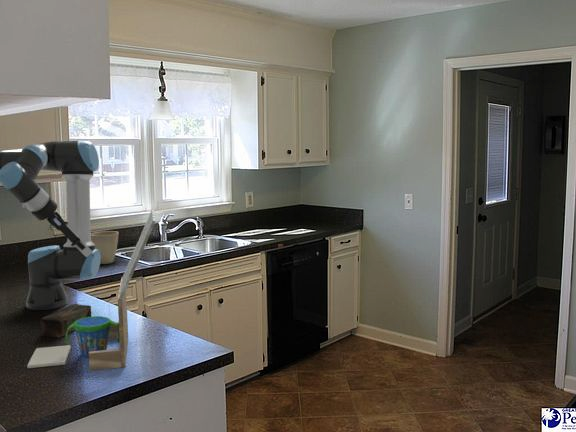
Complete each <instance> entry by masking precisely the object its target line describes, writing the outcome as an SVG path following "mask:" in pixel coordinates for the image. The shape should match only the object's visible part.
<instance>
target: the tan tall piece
mask: <svg viewBox="0 0 576 432" xmlns="http://www.w3.org/2000/svg"><path fill="white" fill-rule="evenodd" d="M155 213H156V212H155V210H154V209H151V210H150V213H149V215H148V218H147V220H146V222H145V223H144V227H143V229H142V231H141V232H140V233H141V234H140V235H139V239H138V240H137V242H136V245H135V248H134V249H133V252H132V254H131V257H130V259H129V261H128V264H127V265H126V268H125V270H124V273H123V275H122V276H121V279H120V284H119V290H118V295H117V309H118V310H117V312H118V321H114V322H115V323H116V324H117V325H118V327H119V335H120V336H119V348H115V349H114V348H113V349H107V350H102V351H91V352H89V357H88V362H89V363H88V364H89V371H97V370H98V371H99V370H100V371H101V370H108V369H117V368H125V367H127V366H126V364H127V354H128V343H129V322H128V306H127V305H128V301H127V299H128V298H127V288H128V286H129V284H130V281H131V279H132V277H133V275H134V272H135V270H136V268H137V265H138V263H139V261H140V258H141V256H142V254H143V251H144V249H145V247H146V244H147V243H148V240H149V238H150V235H151V234H152V232H153V231H152V230H153V229H154V227H155V224H156V215H155ZM109 338H113V339H118V330H117V329H116V327H115V326H114V325H110V329H109V334H108V340H110V339H109Z"/></svg>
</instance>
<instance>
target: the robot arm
mask: <svg viewBox="0 0 576 432" xmlns="http://www.w3.org/2000/svg"><path fill="white" fill-rule="evenodd" d="M99 163H100V160H99V154H98V151H97V148H96V146H95V145H94V143H92V142H91V141H88V140H87V141H86V140H62V141H60V140H58V141H57V140H52V141H46V142H40V143H37V144H31V145H30V144H29V145H26V146H25V147H24V148H15V149H6V150H0V184H1V185H2V187H4V188H5V189H6V190H7V191H8V192H9V193H10V194H12V196H13V197H15V198H16V199H17V200H18V201H19V202H20V203H21V204H22V205H21V207H22V208H24V209H25V208H26V209H27V210H28V211H29V212H30V213H31V214H32V215H33V216H34V217H35V218H36V219H37V221H45V220H46V221H48V222H49V224H50V225H52V226H53V227H54V228H55V229H56V230H57V231H60V233H62V234H63V236H65V238H66V239H67V240H66V243H64V244H63V249H61V247H60V245H56V244H55V245H48V246H47V245H46V246H43V247H38V248H35V249H32V250H30V251H29V252H28V255H27V264H28V265H27V266H28V278H29V290H28V294H27V298H26V301H25V303H26V305H25V306H26V307H25V308H26V309H27V310H31V311H48V310H54V309H58V308H62V307H65V306H66V305H67V304H69V303H68V302H69V301H68V296H67V293H66V290H65V288H64V286H63V281H62V280H92V279H93V278H95V277H96V275H97V274H98V271H99V269H100V266H101V264H100V260H101V255H100V251H99V250H97V249H95V244H94V243H93V242H92V241H91V233H92V231H91V196H90V195H91V191H90V190H91V188H90V187H91V186H90V180H91V179H92V178H93V177H94V172H96V171H98V169H99V165H100V164H99ZM41 171H50V172H51V171H52V172H61V176H62V177H63V178H64V179H65V185H66V186H65V187H66V221H65V220H64V219H63V218H62V216H61V215H60V214H59V213H58V212H57V210H58V203H57V202H56V201H55V200H54V199H53V198H52V197H50V195H49V194H48V192H47V191H45V190H44V189H43V187H42V186H40V185H39V184H38V183H37V181H35V180H36V178H37V176H38V175H39V173H40V172H41Z"/></svg>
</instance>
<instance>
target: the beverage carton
mask: <svg viewBox="0 0 576 432" xmlns="http://www.w3.org/2000/svg"><path fill="white" fill-rule="evenodd" d="M86 317H92V306H91V305H86V304H79V303H73V304H70V305H69V306H66V307H64V308H62V309H60V310H57V311H55V312H53V313H51V314H47V315H46V316H44V317H42V318H40V323H39V324H40V336H41V337H48V338H56V337H58V338H57V339H59V338H60V337H61V338H62V336H63V337H64V336H66V331H67V329H68V328H69V326H70V325H72V324H73V323H74V322H75V321H77V320H79V319H82V318H86ZM71 331H72V332H73V331H76V330H75V329H74V328H70V329H69V330H68V334H69V333H71Z"/></svg>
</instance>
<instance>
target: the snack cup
mask: <svg viewBox="0 0 576 432" xmlns="http://www.w3.org/2000/svg"><path fill="white" fill-rule="evenodd" d="M115 322H116V321H113V320H111V319H110V318H109V317H108V316H101V315H96V316H93V315H92V316H91V317H86V318H82V319H79V320H77V321H75V322H74V323H73V324H72V325H70V326H69V328H68V329H67V331H66V335H64V336H65V338H64V339H65V344H66V345H70V341H69V333H68V330H69V329H70V328H74V329H75V330H74V331H75V333H76V334H75V335H76V339H77V343H78V346H79V352H80V354H81V356H84V357H85V358H89V352H91V351H102V350H108V341H109V339H108V334H109V329H110V325H114V326H115V327H116V329H117V330H118V338H116V339H117V342H120V338H119V336H120V335H119V327H118V325H117V324H116V323H115Z"/></svg>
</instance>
